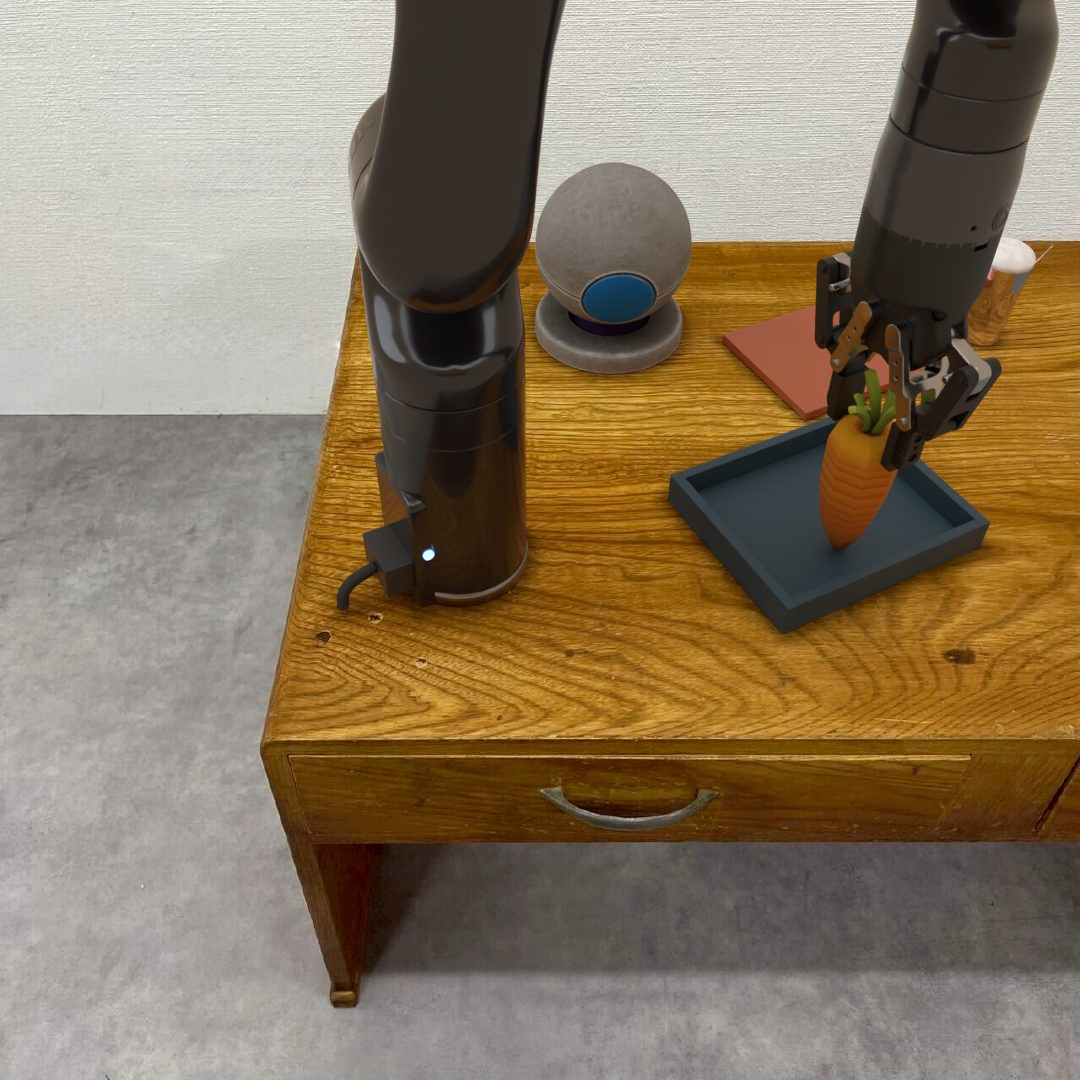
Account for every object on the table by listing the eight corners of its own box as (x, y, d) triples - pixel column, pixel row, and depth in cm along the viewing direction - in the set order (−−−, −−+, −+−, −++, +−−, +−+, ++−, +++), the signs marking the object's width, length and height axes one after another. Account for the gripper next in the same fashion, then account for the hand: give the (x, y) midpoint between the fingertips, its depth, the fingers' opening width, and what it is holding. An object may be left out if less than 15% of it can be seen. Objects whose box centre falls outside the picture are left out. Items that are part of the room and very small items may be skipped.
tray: (782, 634, 75) (788, 609, 74) (667, 499, 84) (670, 474, 82) (980, 547, 81) (991, 522, 79) (853, 429, 90) (860, 404, 88)
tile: (804, 420, 91) (806, 413, 90) (721, 341, 98) (722, 334, 98) (919, 378, 95) (922, 371, 94) (831, 305, 102) (833, 298, 101)
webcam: (671, 287, 104) (687, 133, 93) (691, 372, 95) (711, 213, 84) (531, 291, 103) (531, 136, 92) (538, 377, 95) (539, 217, 84)
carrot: (872, 578, 78) (926, 412, 67) (800, 568, 79) (842, 402, 68) (872, 529, 82) (923, 363, 71) (803, 519, 82) (843, 353, 71)
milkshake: (1007, 360, 96) (1045, 259, 89) (945, 340, 98) (978, 239, 91) (1021, 333, 99) (1059, 233, 92) (961, 314, 101) (994, 215, 94)
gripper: (799, 159, 64) (756, 394, 76) (976, 286, 55) (895, 529, 67) (903, 131, 66) (845, 363, 78) (1088, 248, 57) (990, 489, 70)
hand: (868, 438), depth 73 cm, fingers closed on carrot, 5 cm apart
